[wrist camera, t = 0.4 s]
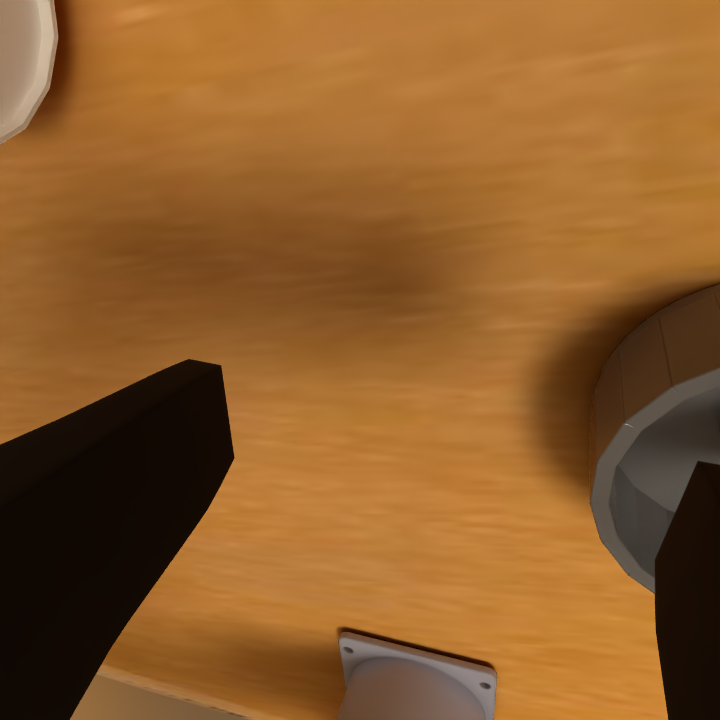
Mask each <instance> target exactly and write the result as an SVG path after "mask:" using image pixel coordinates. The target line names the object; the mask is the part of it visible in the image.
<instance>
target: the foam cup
mask: <svg viewBox="0 0 720 720" xmlns="http://www.w3.org/2000/svg"><path fill="white" fill-rule="evenodd" d="M57 43H58V29H57V21H56V14H55V6H54V0H0V145H1V144H2V143H4V142H6V141H7V140H9V139H10V138H12V137H13V136H15V135H17V134H18V133H20V132H21V131H23V130H25V129H26V128H27V126H28V124H29V123H30V121H31V119H32V118H33V116H34V114H35V113H36V111H37V109H38V108H39V106H40V104H41V103H42V101H43V99H44V98H45V96H46V94H47V92H48V91H49V89H50V84H51V78H52V72H53V67H54V61H55V55H56V49H57Z"/></svg>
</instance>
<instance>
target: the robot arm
mask: <svg viewBox="0 0 720 720" xmlns="http://www.w3.org/2000/svg"><path fill="white" fill-rule="evenodd" d="M233 460H234V452H233V445H232V438H231V431H230V424H229V417H228V410H227V403H226V396H225V389H224V382H223V375H222V368H221V365H216V364H211V363H206V362H201V361H196V360H191V359H188V360H185V361H183V362H180V363H178V364H175V365H173V366H170V367H168V368H166V369H164V370H161V371H159V372H157V373H155V374H153V375H151V376H148V377H146V378H144V379H142V380H140V381H138V382H136V383H134V384H132V385H130V386H128V387H125V388H123V389H121V390H119V391H117V392H115V393H113V394H111V395H109V396H107V397H105V398H102V399H100V400H98V401H96V402H94V403H92V404H90V405H88V406H86V407H84V408H81V409H79V410H77V411H75V412H73V413H71V414H69V415H67V416H65V417H62V418H60V419H58V420H56V421H54V422H51V423H49V424H47V425H44V426H42V427H40V428H38V429H35V430H33V431H31V432H28V433H26V434H24V435H22V436H19V437H17V438H15V439H12V440H10V441H8V442H6V443H3V444H1V445H0V720H70V718H71V716H72V715H73V713H74V711H75V709H76V707H77V706H78V704H79V702H80V700H81V699H82V697H83V695H84V694H85V692H86V690H87V688H88V687H89V685H90V683H91V681H92V679H93V678H94V676H95V675H96V673H97V671H98V669H99V668H100V666H101V664H102V662H103V661H104V659H105V657H106V655H107V654H108V652H109V650H110V649H111V647H112V646H113V644H114V643H115V641H116V640H117V638H118V637H119V635H120V633H121V632H122V630H123V629H124V627H125V626H126V624H127V623H128V621H129V620H130V619H131V617H132V616H133V614H134V613H135V612H136V610H137V609H138V607H139V606H140V604H141V603H142V602H143V600H144V599H145V597H146V596H147V595H148V593H149V592H150V590H151V589H152V588H153V586H154V585H155V583H156V582H157V581H158V579H159V578H160V576H161V575H162V574H163V572H164V571H165V569H166V568H167V567H168V565H169V564H170V562H171V561H172V560H173V558H174V557H175V555H176V554H177V553H178V551H179V550H180V548H181V547H182V546H183V544H184V543H185V541H186V540H187V538H188V537H189V536H190V534H191V533H192V531H193V530H194V528H195V527H196V526H197V524H198V523H199V521H200V520H201V518H202V517H203V515H204V514H205V512H206V511H207V509H208V508H209V506H210V504H211V502H212V500H213V499H214V497H215V495H216V493H217V491H218V489H219V488H220V486H221V484H222V482H223V480H224V478H225V476H226V474H227V472H228V470H229V468H230V466H231V464H232V462H233ZM655 620H656V635H657V643H658V650H659V657H660V664H661V671H662V679H663V686H664V693H665V699H666V706H667V713H668V720H720V465H718V464H713V463H708V462H703V461H697V464H696V466H695V468H694V470H693V473H692V475H691V477H690V480H689V482H688V484H687V487H686V489H685V491H684V494H683V496H682V498H681V500H680V503H679V505H678V507H677V510H676V512H675V514H674V517H673V519H672V521H671V523H670V526H669V528H668V530H667V533H666V535H665V537H664V540H663V542H662V544H661V547H660V549H659V551H658V553H657V556H656V558H655ZM339 647H340V654H341V660H342V666H343V672H344V678H345V684H346V693H345V696H344V699H343V702H342V705H341V708H340V710H339V713H338V716H337V719H336V720H494V710H495V697H496V684H497V673H496V672H495V671H494V670H493V669H491V668H489V667H486V666H482V665H478V664H474V663H470V662H466V661H462V660H458V659H454V658H450V657H446V656H442V655H438V654H434V653H430V652H426V651H422V650H418V649H414V648H410V647H406V646H402V645H398V644H394V643H390V642H386V641H382V640H378V639H374V638H370V637H366V636H362V635H358V634H354V633H350V632H342V633H341V635H340V637H339Z"/></svg>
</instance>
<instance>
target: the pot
mask: <svg viewBox="0 0 720 720" xmlns="http://www.w3.org/2000/svg"><path fill="white" fill-rule="evenodd" d="M589 444H590V505H591V509H592V512H593V516H594V520H595V523H596V527H597V530H598V534H599V537H600V539H601V541H602V543H603V544H604V545H605V547H606V548H607V549H608V550H609V552H610V553H611V554H612V556H613V557H614V558H615V559H616V561H617V562H618V563H619V565H620V566H621V567H622V568H623V570H624V571H625V572H626V573H627V574H628V575H629V576H630V577H631V578H633V579H634V580H636V581H637V582H638V583H640V584H641V585H643V586H644V587H646V588H647V589H648V590H650V591H651V592H653V593H654V594H655V558H656V556H657V553H658V551H659V549H660V547H661V544H662V542H663V540H664V537H665V535H666V533H667V530H668V528H669V526H670V523H671V521H672V519H673V517H674V514H675V512H676V510H677V507H678V505H679V503H680V500H681V498H682V496H683V494H684V491H685V489H686V487H687V484H688V482H689V480H690V477H691V475H692V473H693V470H694V468H695V466H696V464H697V461H703V462H708V463H713V464H718V465H720V284H719V285H716V286H713V287H709V288H706V289H703V290H700V291H698V292H696V293H693V294H691V295H689V296H686V297H684V298H682V299H679V300H677V301H676V302H674V303H672V304H670V305H668V306H667V307H665V308H663V309H661V310H659V311H658V312H656V313H655V314H654V315H652V316H651V317H649V318H648V319H647V320H645V321H644V322H642V323H641V324H640V325H639V326H638V327H636V328H635V329H634V330H633V331H632V332H631V333H630V334H629V335H628V336H627V337H626V338H625V339H624V340H623V341H622V342H621V343H620V344H619V346H618V347H617V348H616V349H615V350H614V352H613V353H612V354H611V356H610V357H609V359H608V361H607V362H606V364H605V365H604V367H603V369H602V371H601V373H600V376H599V378H598V380H597V383H596V386H595V390H594V394H593V398H592V408H591V419H590V425H589Z"/></svg>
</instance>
